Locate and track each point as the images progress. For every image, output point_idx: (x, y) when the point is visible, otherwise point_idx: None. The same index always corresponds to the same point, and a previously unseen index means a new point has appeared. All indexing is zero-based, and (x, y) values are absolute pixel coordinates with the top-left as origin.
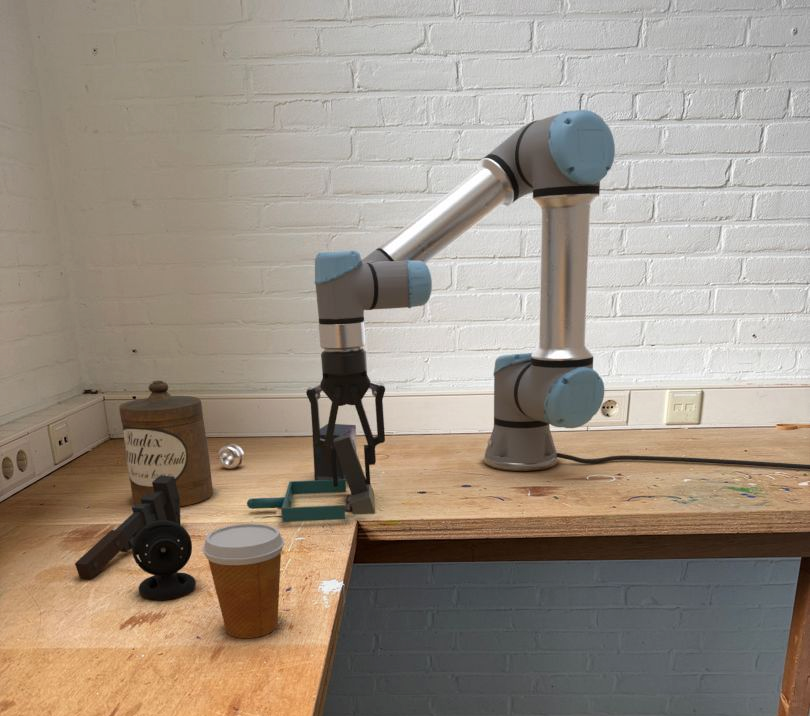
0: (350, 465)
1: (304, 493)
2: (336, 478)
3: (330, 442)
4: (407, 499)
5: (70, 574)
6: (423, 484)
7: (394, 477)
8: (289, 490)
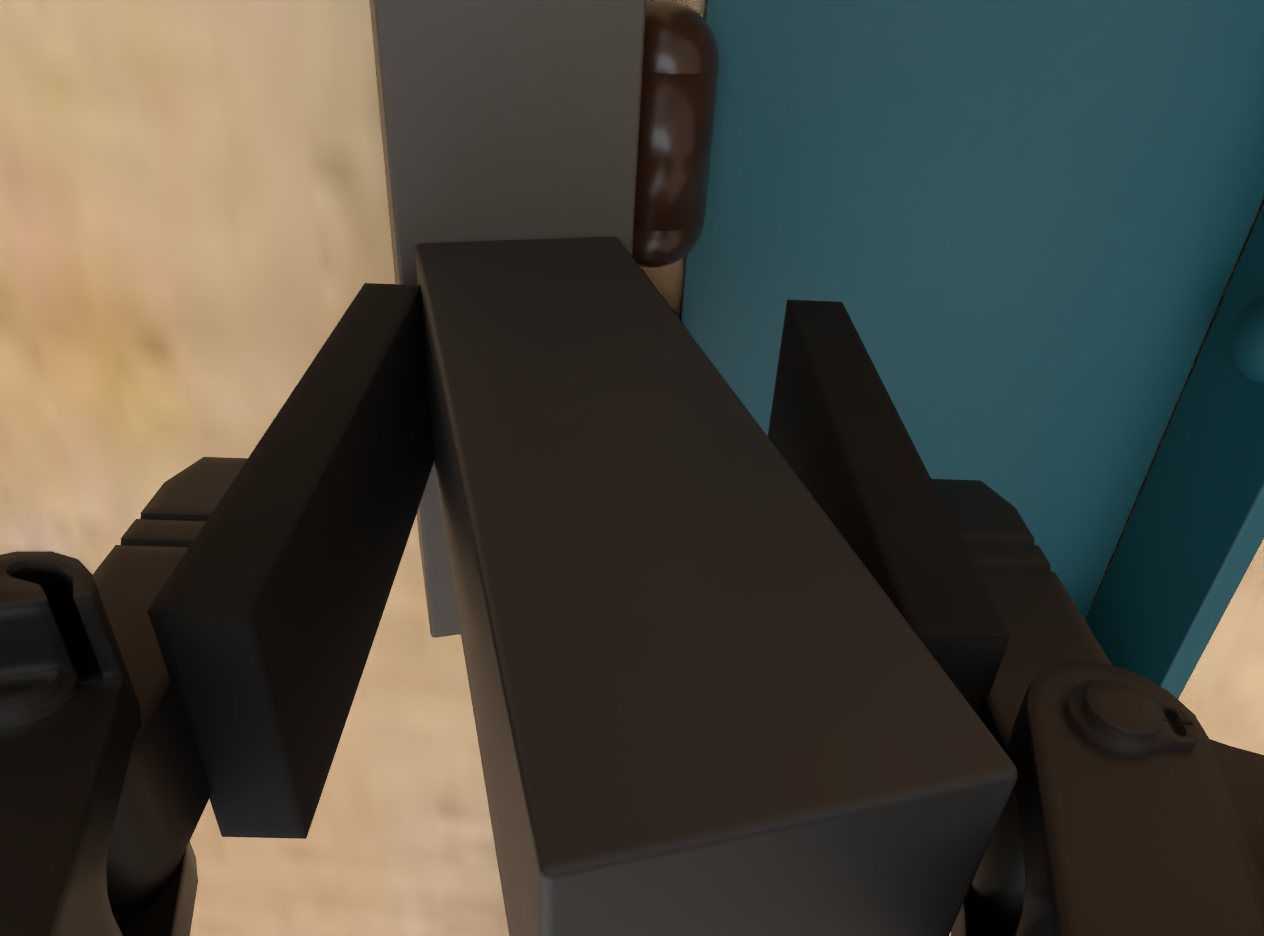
0: (601, 413)
1: None
2: (817, 343)
3: (1076, 801)
4: (138, 448)
5: None
6: None
7: (321, 886)
8: (1252, 503)
